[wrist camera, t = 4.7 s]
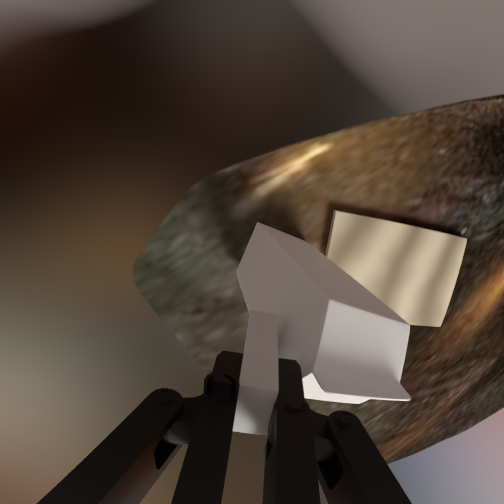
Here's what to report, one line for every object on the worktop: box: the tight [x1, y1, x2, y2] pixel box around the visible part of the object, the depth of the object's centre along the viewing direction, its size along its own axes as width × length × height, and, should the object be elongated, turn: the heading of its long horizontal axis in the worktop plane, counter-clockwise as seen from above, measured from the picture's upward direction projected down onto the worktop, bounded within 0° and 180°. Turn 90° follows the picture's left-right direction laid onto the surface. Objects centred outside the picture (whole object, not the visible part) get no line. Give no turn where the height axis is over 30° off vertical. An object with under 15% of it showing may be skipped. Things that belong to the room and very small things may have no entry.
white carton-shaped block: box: [236, 222, 411, 404], centre depth 22 cm, size 6×6×22 cm
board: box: [325, 210, 467, 327], centre depth 32 cm, size 18×12×1 cm, turn 82°
